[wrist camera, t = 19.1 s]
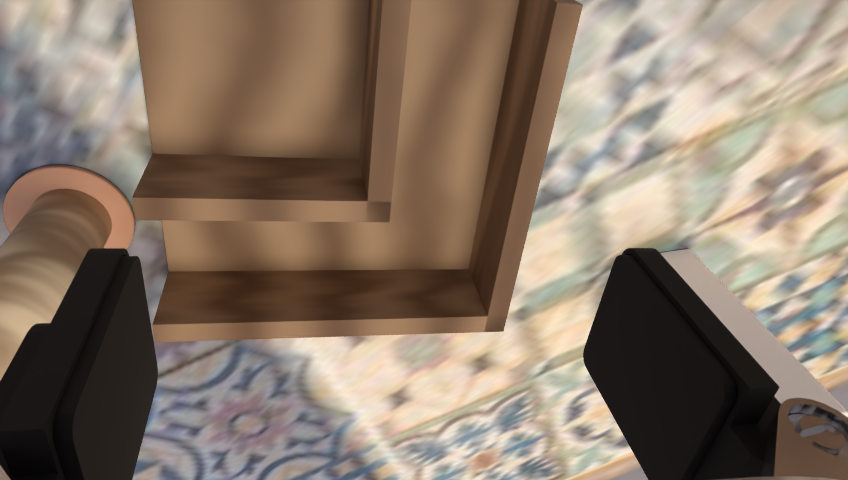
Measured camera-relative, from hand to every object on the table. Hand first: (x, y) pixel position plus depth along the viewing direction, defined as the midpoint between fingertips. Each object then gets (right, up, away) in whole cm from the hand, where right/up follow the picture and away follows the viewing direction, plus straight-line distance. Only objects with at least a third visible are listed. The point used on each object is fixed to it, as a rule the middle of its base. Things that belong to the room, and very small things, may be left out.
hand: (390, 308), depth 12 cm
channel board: (-5, +8, +30) cm, 32 cm away
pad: (-24, +3, +30) cm, 38 cm away
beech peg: (-24, +3, +29) cm, 38 cm away
